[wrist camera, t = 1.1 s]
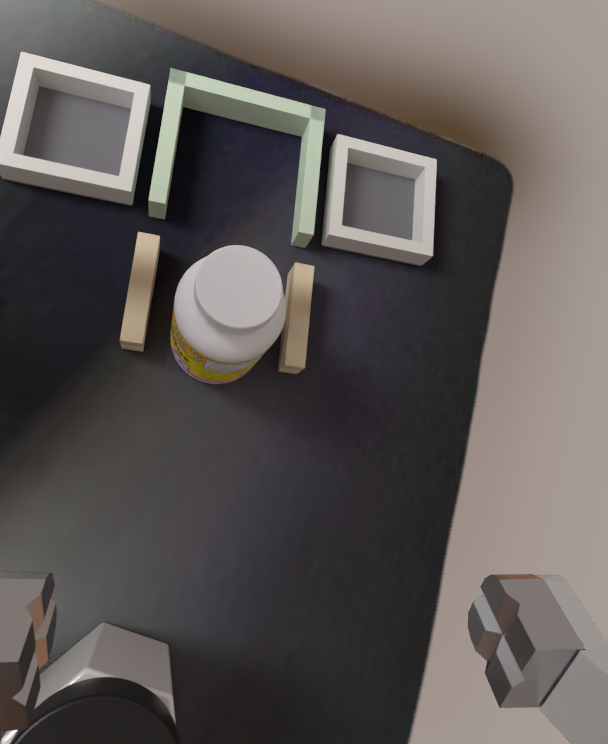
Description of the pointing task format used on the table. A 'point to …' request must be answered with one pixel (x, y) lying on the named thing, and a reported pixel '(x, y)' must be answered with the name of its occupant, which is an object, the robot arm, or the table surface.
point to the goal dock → (250, 110)
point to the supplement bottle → (226, 314)
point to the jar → (105, 694)
